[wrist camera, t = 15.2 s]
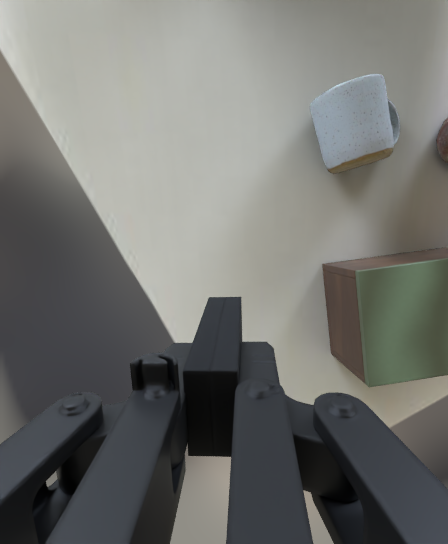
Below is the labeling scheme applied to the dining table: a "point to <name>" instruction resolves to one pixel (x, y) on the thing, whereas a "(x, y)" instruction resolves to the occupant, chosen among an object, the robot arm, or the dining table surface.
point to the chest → (346, 302)
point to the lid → (404, 321)
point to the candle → (443, 141)
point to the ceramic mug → (355, 123)
